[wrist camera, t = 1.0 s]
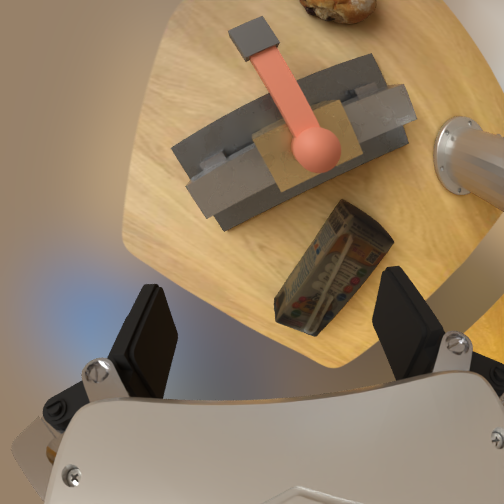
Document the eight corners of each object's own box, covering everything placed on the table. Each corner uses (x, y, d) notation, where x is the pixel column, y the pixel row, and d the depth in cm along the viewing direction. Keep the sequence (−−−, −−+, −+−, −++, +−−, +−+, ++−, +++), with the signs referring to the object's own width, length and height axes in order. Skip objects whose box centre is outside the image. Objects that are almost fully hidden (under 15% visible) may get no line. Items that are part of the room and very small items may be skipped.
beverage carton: (269, 297, 44) (272, 326, 38) (339, 194, 36) (355, 211, 30) (310, 313, 46) (317, 342, 40) (380, 220, 38) (400, 241, 32)
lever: (338, 156, 25) (348, 161, 23) (302, 173, 26) (308, 180, 23) (265, 21, 19) (267, 12, 16) (225, 39, 19) (223, 31, 17)
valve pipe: (368, 54, 26) (400, 43, 19) (405, 142, 32) (440, 154, 24) (172, 147, 32) (151, 159, 25) (224, 228, 38) (218, 260, 31)
